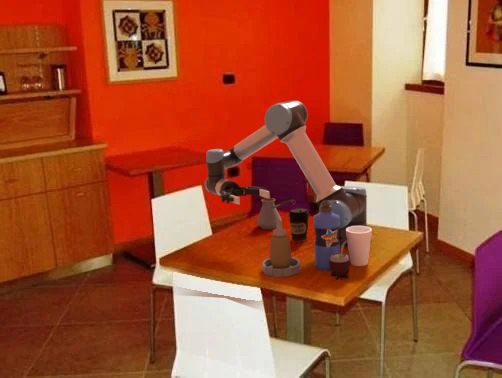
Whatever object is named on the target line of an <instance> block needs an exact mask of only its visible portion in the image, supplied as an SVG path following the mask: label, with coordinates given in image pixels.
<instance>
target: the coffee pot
mask: <svg viewBox="0 0 502 378" xmlns="http://www.w3.org/2000/svg"><path fill="white" fill-rule="evenodd" d="M260 201H261V202H262V206H261V208H260V212H259V213H258V216H257V219H256V224H257V225H258V226H259V227H260V228H261V229H262V230H275V229H276V227H277V221H278V220H281V223H282V221H283V220H282V218H281V216H280V214H279V212H278V210H277V208H278V207H280V206H286V205H287V204H289V203H291V204H293V205H294V204H296V200H295V199H289V200H286V201H282V202H281V203H279V204H276V205H275V201H276V198H273V197H270V198H265V197H264V198H261V200H260ZM293 202H294V203H293Z"/></svg>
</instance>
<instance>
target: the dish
mask: <svg viewBox="0 0 502 378" xmlns="http://www.w3.org/2000/svg"><path fill="white" fill-rule="evenodd" d="M301 264H302V262H301V260H299V259H298V258H297V257H296V258H295V257H293V256H292V260H291V264H290V267H289V268H284V269H277V268H273V266H272V264H271V261H270V257H269V258H267V259H264V260H263V262H262V263H261V269H262V273H263V274H264V275H267V276H269V277H273V278H286V277H292V276H295V275H297V274H299V273H300V271H301V268H302V265H301Z"/></svg>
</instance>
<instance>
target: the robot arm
mask: <svg viewBox="0 0 502 378" xmlns="http://www.w3.org/2000/svg"><path fill="white" fill-rule="evenodd" d="M308 113H309V112H308V109H307V107H306V106H305V104H304V103H302V102H301V101H299V100H295V99H294V100H293V99H292V100H287V101H284V102H278V103H275V104H273V105H271V106H270V107H269V108H267V109H266V112H265V116H264V125H263V126H261V127H260V128H259V129H257V130H256V131H254V132H253V133H251V134H250V135H248V136H247V137H245V138H243V139H242V140H241V141H239V142H238V143H236V144H235V145H233V146H232V147H231V148H229V149H228V150H223V149H221V148H214V149H208V150H207V151H206V155H205V156H206V157H205V158H206V159H205V161H206V170H207V178H206V179H205V181H204V188H205V190H206V191H207V192H208V193H210V194H212V195H215V196H218V197H219V198H221V203H225V202H226V204H230V203H232V204H236V205H240V204H241V203H240V201H241V200H240V199H241V198H240V197H246V196H250V195H252V196H259V197H262V198H264V199H265V198H271V195H270V191H269V190H267V189H266V187H263V186H250V185H245V186H240V185H239V183H237V182H235V181H233V180H230V179H227V178H226V170H228V169H229V168H232V167H235V166H238V165H240V164H242V163H243V161H244V160H246V159H247V158H249V157H250V156H252V155H253V154H254V153H256V152H258V151H260V150H261V149H263V148H265V146H267V145H269V144H271V143H272V142H274V141H275V140H276V139H278V140H279V141H280V143H284V144H286V145H287V147H288V149H289V151H290V153H291V154H292V156H293V158H294V159H295V160H296V163H297V164H298V165H299V168H300V170H301V171H302V172H303V174H304V176H305V179H306V180H307V181H308V183H309V185H310V186H311V188H312V190H313V192H314V193H315V195H316V200H315V201H316V204H317V206H318V214H319V213H320V212H321V211H320V206H322V205H321V203H322V202H323V201H324V200H329V201H330V202H331V203H332V204H331V205H330V206H332V212H333V213H334V214H337V215H339V219H340V225H339V232H338V238H339V243H340V247H341V246H342V244H343V243H344V242H345V241H347V237H346V228H348V227H351V226H366V227H369V226H368V222H367V221H368V219H367V218H368V217H367V215H368V214H367V213H368V212H367V210H368V209H367V207H368V203H367V201H368V199H367V197H368V195H367V190H366V188H365V187H361V186H355V185H354V186H351V185H349V186H347V185H346V186H345V185H344V186H342V185H341V186H340V185H337V184H336V182H335V181H334V179H333V177H332V176H331V175H332V174H330V172H329V170H328V168H327V167H326V165H325V163H324V162H323V159H322V158H321V157H320V155H319V153H318V151H317V150H316V149H315V146H314V145H313V143H312V141H311V140H310V138H309V136H308V135H307V133H306V129H307V125H306V123H307V120H308V117H309V114H308ZM371 243H372V241H371V242H370V244H371ZM344 247H345V248H346V247H347V248H348V243H347V242H346V243H345V244H344ZM344 247H343V248H344Z"/></svg>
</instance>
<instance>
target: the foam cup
mask: <svg viewBox="0 0 502 378" xmlns="http://www.w3.org/2000/svg"><path fill="white" fill-rule="evenodd" d="M372 232H373V228H371V227H369V226H368V227H366V226H351V227H348V228H346V237H347V240H348V241H347V243H348V247H347V248H348V249H347V250H348V254H349V255H348V257H349V261H350V264H351V265H352V266H356V267H364V266H367V265H368V263H369V258H370V250H371V249H370V248H371V243H372V235H373V233H372ZM370 242H371V243H370Z"/></svg>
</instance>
